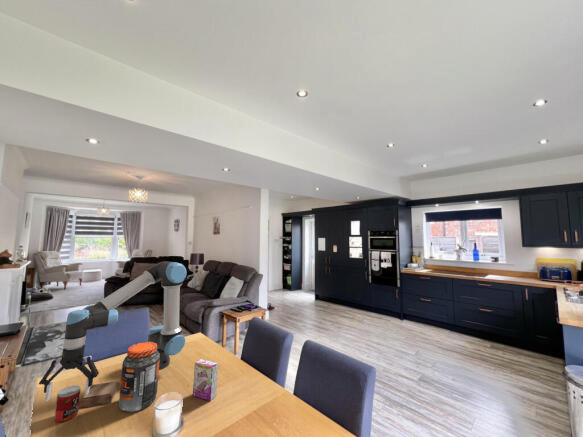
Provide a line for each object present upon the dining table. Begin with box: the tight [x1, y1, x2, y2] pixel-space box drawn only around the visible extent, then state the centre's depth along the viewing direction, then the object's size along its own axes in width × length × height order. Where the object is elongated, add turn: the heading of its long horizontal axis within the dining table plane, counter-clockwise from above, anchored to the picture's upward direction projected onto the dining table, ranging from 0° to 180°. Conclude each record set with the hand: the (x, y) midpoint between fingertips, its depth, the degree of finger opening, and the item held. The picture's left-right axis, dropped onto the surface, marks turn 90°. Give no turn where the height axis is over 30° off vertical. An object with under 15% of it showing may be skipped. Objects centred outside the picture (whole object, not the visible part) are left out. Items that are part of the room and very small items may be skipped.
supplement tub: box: [118, 341, 160, 413], centre depth 120 cm, size 16×16×26 cm
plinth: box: [79, 380, 120, 409], centre depth 121 cm, size 12×12×4 cm
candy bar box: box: [192, 358, 219, 402], centre depth 125 cm, size 11×5×16 cm, turn 71°
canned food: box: [54, 385, 82, 424], centre depth 108 cm, size 8×8×11 cm
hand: (67, 397), depth 108 cm, fingers open, 13 cm apart
